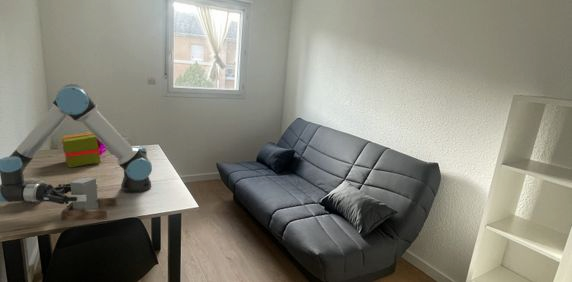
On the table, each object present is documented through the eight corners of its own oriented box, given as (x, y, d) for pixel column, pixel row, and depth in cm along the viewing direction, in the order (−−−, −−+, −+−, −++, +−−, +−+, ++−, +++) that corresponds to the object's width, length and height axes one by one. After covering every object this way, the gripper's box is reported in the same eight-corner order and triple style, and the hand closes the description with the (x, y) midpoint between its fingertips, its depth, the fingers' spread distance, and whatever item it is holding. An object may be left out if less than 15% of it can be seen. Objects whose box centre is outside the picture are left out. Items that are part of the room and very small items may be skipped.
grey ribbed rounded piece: (27, 195, 161) (25, 174, 158) (60, 198, 160) (58, 176, 157) (8, 204, 150) (5, 181, 148) (43, 206, 150) (40, 184, 147)
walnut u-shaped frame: (62, 220, 139) (61, 211, 138) (77, 206, 153) (76, 198, 152) (106, 219, 142) (105, 210, 141) (116, 205, 156) (116, 197, 155)
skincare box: (85, 217, 142) (82, 184, 139) (71, 215, 143) (68, 182, 140) (100, 209, 150) (97, 177, 147) (86, 207, 152) (84, 175, 148)
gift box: (68, 173, 202) (112, 164, 218) (63, 143, 194) (109, 136, 209) (63, 159, 216) (105, 152, 232) (58, 131, 208) (102, 125, 223)
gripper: (55, 189, 154) (103, 189, 158) (23, 213, 130) (80, 211, 134) (53, 175, 152) (101, 174, 156) (20, 195, 128) (79, 195, 132)
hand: (92, 192), depth 145 cm, fingers open, 13 cm apart
